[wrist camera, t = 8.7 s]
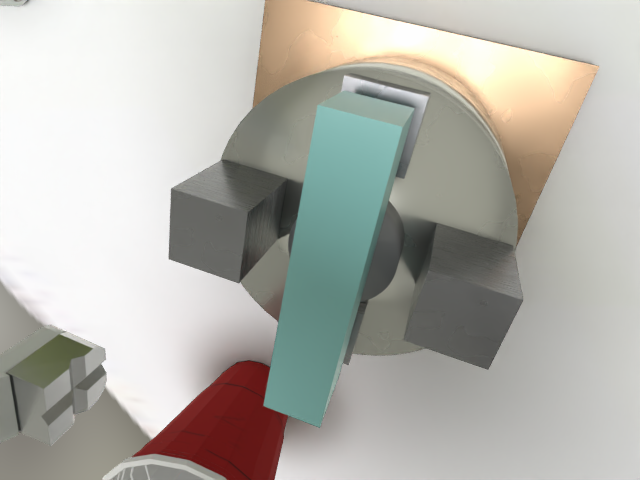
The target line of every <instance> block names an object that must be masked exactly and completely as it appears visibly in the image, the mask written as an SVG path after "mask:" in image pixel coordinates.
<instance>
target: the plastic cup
mask: <svg viewBox="0 0 640 480" xmlns="http://www.w3.org/2000/svg"><path fill="white" fill-rule="evenodd" d="M269 372H270V367H268V366H266V365H264V364H262V363H258V362H253V361H244V362H238V363H236V364H235V365H233V366H231V367H230V368H229V369H227V370H226V371H225V372H224V373H222V374H221V375H220V376H219V377H218V378H217V379H216V380H215V381H214V382H213V383H212V384H211V385H210V386H209V387H208V388H206V389H205V390H204V391H203V392H201V393H200V394H199V395H198V396H197V397H196V398H195V399H194V400H193V401H192V402H191V403H190V404H189V405H188V406H187V407H186V408H185V409H184V410H183V411H182V412H181V413H180V414H179V415H178V416H177V417H175V418H174V419H173V420H172V421H171V422H170V423H169V424H168V425H167V426H166V427H165V428H164V429H163V430H162V431H161V432H160V433H159V434H158V435H157V436H156V437H155V438H154V439H152V440H151V441H150V442H149V443H147V444H146V445H145V446H144V447H143V448H142V449H141V450H140V451H139V452H137V453H136V454H135V455H134V456H132V457H131V458H126V459H125V460H124V461H122V462H121V463H120V464H119V465H117V466H116V467H115V468H114V469H112V470H111V471H110V472H109V473H107V474H106V475H105V476H104V477H103V479H102V480H274V479H275V474H276V470H277V466H278V461H279V457H280V452H281V448H282V444H283V439H284V430H285V426H286V422H287V418H288V415H285V414H283V413H280V412H278V411H275V410H273V409H270V408H267V407H265V406H263V405H264V399H265V394H266V388H267V383H268V377H269Z"/></svg>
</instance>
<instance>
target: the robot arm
mask: <svg viewBox="0 0 640 480" xmlns="http://www.w3.org/2000/svg"><path fill="white" fill-rule="evenodd" d="M105 360H106V353H105V349H104V348H102V347H100V346H98V345H96V344H93V343H91V342H89V341H87V340H85V339H82V338H80V337H78V336H76V335H73V334H71V333H69V332H67V331H64V330H62V329H60V328H57V327H55V326H52V325H47V326H43V327H41V328H40V329H38V330H37V331H36V332H34V333H32V334H31V335H29V336H28V337H26V338H25V339H23V340H22V341H20V342H19V343H17V344H16V345H14V346H13V347H11V348H10V349H8V350H7V351H5V352H4V353H2V354H1V355H0V443H2V442H4V441H6V440H8V439H11V438H13V437H15V436H17V435H19V432H20V433H22V434H24V435H27V436H29V437H31V438H34V439H36V440H38V441H41V442H43V443H45V444H48V445H50V446H51V445H52V444H53V443H54V442H55V441H56V440H57V439H58V438H60V437H61V436H62V435H63V433H65V432H66V431H67V430H68V429H69V428H70V427H71V426H72V425H73V424H74V419H75V414H78V413H81V412H84V411H87V410H89V409H90V407H92V406H93V404H95V403H96V402H97V400H98V399H99V397H100V395H101V394H102V392H103V390H104V388H105V384H106V381H107V378H106V371H105V370H104V368H103V366H102V365H101V363H102V362H104V361H105Z"/></svg>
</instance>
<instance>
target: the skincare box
mask: <svg viewBox="0 0 640 480" xmlns="http://www.w3.org/2000/svg"><path fill="white" fill-rule="evenodd" d="M26 1H27V0H0V5H1V6H22V5H23V4H24V3H25V2H26Z"/></svg>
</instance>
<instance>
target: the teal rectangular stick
mask: <svg viewBox="0 0 640 480" xmlns="http://www.w3.org/2000/svg"><path fill="white" fill-rule="evenodd" d="M414 109H415V108H412V107H408V106H404V105H400V104H396V103H392V102H388V101H384V100H380V99H376V98H372V97H368V96H364V95H360V94H356V93H352V92H348V91H342V92H340V93H338V94H337V95H335V96H333V97H331V98H329V99H327V100H326V101H324V102H322V103H320V104H318V106H317V111H316V117H315V122H314V128H313V134H312V139H311V145H310V150H309V156H308V161H307V167H306V172H305V178H304V183H303V189H302V194H301V200H300V206H299V211H298V217H297V220H296V221H295V223H294V225H293V226H292V229H291V231H290V235H289V240H288V252H289V257H290V261H289V266H288V272H287V278H286V283H285V289H284V294H283V300H282V305H281V311H280V316H279V322H278V327H277V333H276V339H275V344H274V350H273V355H272V361H271V366H270V372H269V377H268V383H267V388H266V394H265V399H264V405H263V406H265V407H267V408H270V409H273V410H275V411H278V412H280V413H283V414H285V415H288V416H291V417H293V418H296V419H298V420H301V421H304V422H306V423H309V424H311V425H314V426H316V427H319V428H320V426H321V423H322V421H323V418H324V415H325V413H326V410H327V407H328V405H329V402H330V399H331V396H332V394H333V391H334V388H335V386H336V383H337V380H338V378H339V375H340V371H341V367H342V364H343V360H344V357H345V353H346V350H347V346H348V343H349V339H350V336H351V332H352V329H353V325H354V321H355V318H356V314H357V311H358V307H359V304H360V302H363V301H366V300H369V299H372V298H374V297H376V296H377V295H379V294H380V293H382V292H383V291H384V290H385V289H386V288H387V287H388V286H389V284H390V283H391V281H392V280H393V278H394V276H395V273H396V270H397V267H398V263H399V260H400V257H401V253H402V250H403V246H404V239H405V234H404V227H403V223H402V220H401V217H400V215H399V213H398V212H397V210H396V209H395V207H394V206H393V205H392V204H391V203H390V201H389V198H390V194H391V191H392V187H393V184H394V180H395V177H396V173H397V169H398V166H399V162H400V159H401V155H402V152H403V148H404V145H405V141H406V138H407V134H408V131H409V127H410V124H411V120H412V116H413V113H414Z"/></svg>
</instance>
